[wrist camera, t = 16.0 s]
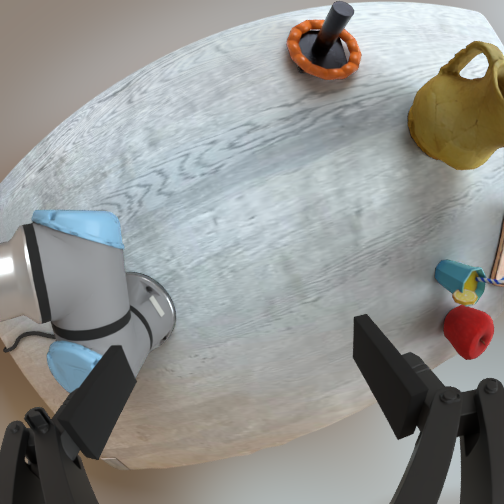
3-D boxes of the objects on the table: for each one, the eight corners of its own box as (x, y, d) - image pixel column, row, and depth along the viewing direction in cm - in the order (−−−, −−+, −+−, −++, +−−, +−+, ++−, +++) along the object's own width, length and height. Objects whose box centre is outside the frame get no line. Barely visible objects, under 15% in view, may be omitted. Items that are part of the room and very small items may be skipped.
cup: (463, 238, 46) (511, 254, 32) (468, 268, 48) (512, 289, 33) (418, 270, 48) (465, 296, 33) (426, 300, 49) (468, 331, 35)
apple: (447, 344, 52) (478, 372, 39) (429, 327, 51) (462, 358, 38) (472, 309, 50) (506, 332, 37) (456, 289, 49) (494, 313, 36)
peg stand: (299, 73, 39) (319, 30, 25) (289, 33, 37) (303, -15, 22) (347, 73, 39) (382, 36, 24) (336, 34, 37) (363, -9, 22)
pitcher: (391, 152, 42) (497, 128, 18) (401, 70, 39) (482, 19, 14) (454, 185, 44) (550, 188, 19) (460, 108, 41) (542, 86, 16)
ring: (297, 84, 39) (299, 80, 37) (278, 25, 36) (279, 19, 34) (367, 79, 38) (371, 76, 36) (345, 23, 35) (348, 18, 33)
